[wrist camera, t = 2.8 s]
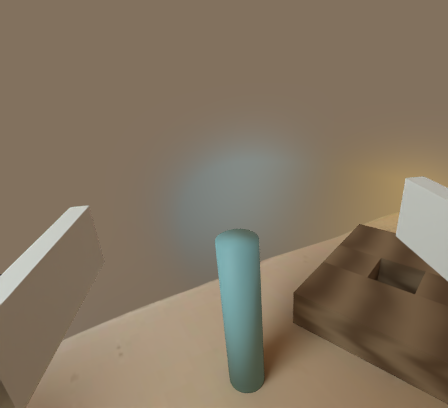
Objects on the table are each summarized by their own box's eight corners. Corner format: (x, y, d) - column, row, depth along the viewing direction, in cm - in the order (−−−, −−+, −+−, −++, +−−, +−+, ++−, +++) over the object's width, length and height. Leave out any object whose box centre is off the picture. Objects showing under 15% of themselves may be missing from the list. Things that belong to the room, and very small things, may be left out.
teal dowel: (271, 373, 31) (267, 236, 24) (250, 400, 28) (239, 256, 22) (244, 355, 33) (234, 225, 27) (222, 378, 31) (206, 242, 24)
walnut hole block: (481, 286, 40) (491, 257, 38) (455, 408, 26) (468, 372, 25) (356, 248, 50) (359, 224, 48) (293, 322, 37) (293, 292, 35)
